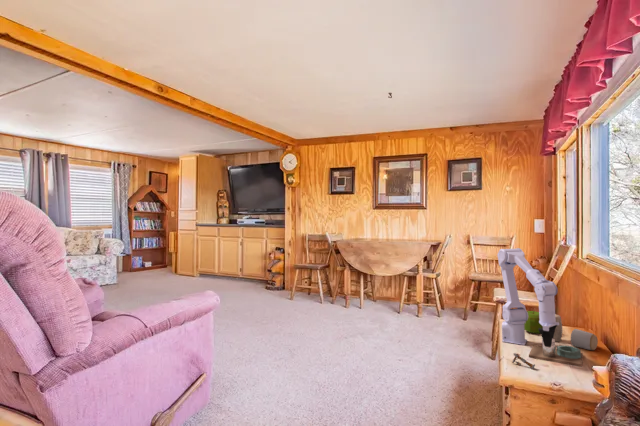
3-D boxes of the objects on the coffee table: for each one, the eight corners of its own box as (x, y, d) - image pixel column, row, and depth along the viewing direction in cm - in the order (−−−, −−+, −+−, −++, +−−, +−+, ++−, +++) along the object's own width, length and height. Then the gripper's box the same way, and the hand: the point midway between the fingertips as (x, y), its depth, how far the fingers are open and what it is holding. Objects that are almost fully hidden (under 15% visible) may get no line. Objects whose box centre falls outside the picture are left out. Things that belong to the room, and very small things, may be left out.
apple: (519, 328, 189) (518, 307, 189) (542, 329, 186) (541, 308, 186) (525, 335, 178) (524, 313, 179) (550, 336, 175) (549, 313, 176)
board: (528, 357, 150) (528, 348, 150) (533, 347, 161) (533, 339, 161) (581, 366, 139) (581, 357, 139) (582, 355, 150) (582, 347, 150)
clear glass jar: (542, 356, 148) (541, 339, 149) (543, 352, 152) (542, 336, 152) (555, 358, 146) (554, 341, 146) (556, 355, 149) (555, 338, 149)
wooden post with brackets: (510, 360, 146) (515, 351, 145) (530, 373, 140) (535, 364, 139) (509, 361, 145) (513, 352, 144) (529, 374, 139) (534, 365, 138)
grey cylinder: (592, 352, 153) (591, 334, 153) (570, 347, 160) (569, 330, 160) (602, 347, 159) (601, 330, 159) (580, 342, 165) (580, 326, 166)
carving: (565, 343, 165) (563, 317, 166) (546, 341, 168) (545, 316, 168) (560, 338, 171) (559, 313, 172) (542, 337, 174) (541, 312, 174)
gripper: (556, 316, 141) (558, 350, 141) (559, 308, 153) (561, 340, 152) (536, 314, 145) (538, 347, 145) (540, 306, 157) (542, 337, 156)
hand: (548, 343), depth 149 cm, fingers open, 7 cm apart
